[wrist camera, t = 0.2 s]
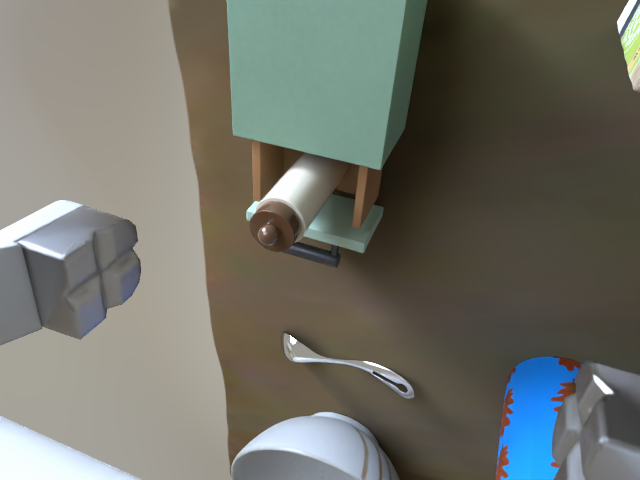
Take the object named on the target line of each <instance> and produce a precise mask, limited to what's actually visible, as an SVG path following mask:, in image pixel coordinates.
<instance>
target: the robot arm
mask: <svg viewBox="0 0 640 480" xmlns="http://www.w3.org/2000/svg"><path fill="white" fill-rule="evenodd" d="M137 242H138V238H137V231H136V226H135V225H134V224H133V223H132V222H130V221H129V220H127V219H124V218H120V217H118V216H115V215H112V214H109V213H105V212H103V211H100V210H97V209H93V208H90V207H86V206H83V205H81V204H77V203H74V202H71V201H61V200H59V201H56V202H54V203H52V204H50V205H49V206H47V207H45V208H43V209H41V210H39V211H37V212H35V213H33V214H31V215H29V216H27V217H25V218H23V219H22V220H20V221H18V222H16V223H14V224H12V225H10V226H8V227H6V228H4V229H2V230H0V345H3V344H5V343H8V342H10V341H13V340H15V339H18V338H20V337H23V336H25V335H28V334H30V333H33V332H35V331H38V330H40V329H42V326H43V327H46V328H48V329H51V330H54V331H57V332H60V333H63V334H65V335H69V336H71V337H74V338H77V339H82V338H83V337H84V336H85V335H86V334H87V333H89V332H90V331H91V330H92V329H93V328H95V327H96V326H97V325H98V324H99V323H101V322H102V321H103V320H104V319H105V318H106V313H107V309H108V308H111V307H115V306H118V305H121V304H123V303H124V302H125V301H126V300H127V299H128V298H129V297H131V296H132V294H133V292H134V290H135V289H136V287H137V285H138V283H139V280H140V274H141V266H140V259H139V258H138V256H137V255H136V253H135V252H134V250H133V247H134V245H135V244H136V243H137ZM575 382H576V393H575V394H572V395H570V396H568V397H565V399H564V401H563V403H562V405H561V407H560V409H559V412H558V414H557V418H556V422H555V425H554V429H553V437H552V457H553V458H554V460H555V461H556V463H557V464H558V466H559V467H560V468H559V470H558V472H557V473H556V475H555V477H554V479H553V480H640V375H638V374H635V373H632V372H628V371H625V370H622V369H618V368H615V367H612V366H608V365H605V364H601V363H598V362H595V361H591V360H588V359H587V360H586V361H585V362H584V364H583V365H582V366H581V368H580V369H579V371H578V373H577V375H576V377H575ZM0 480H141V479H139V478H137V477H135V476H133V475H130V474H128V473H126V472H124V471H121V470H119V469H117V468H115V467H113V466H110V465H108V464H106V463H104V462H102V461H99V460H97V459H95V458H93V457H90V456H88V455H86V454H84V453H82V452H79V451H77V450H74V449H73V448H70V447H68V446H66V445H64V444H61V443H59V442H57V441H55V440H53V439H51V438H48V437H46V436H44V435H41V434H39V433H37V432H35V431H33V430H30V429H28V428H26V427H24V426H22V425H20V424H17V423H15V422H13V421H11V420H8V419H6V418H4V417H2V416H0Z"/></svg>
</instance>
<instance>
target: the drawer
mask: <svg viewBox="0 0 640 480" xmlns="http://www.w3.org/2000/svg"><path fill="white" fill-rule="evenodd" d="M252 153H253V199H254V201H255V202H254V203H253V204H252V205H251V207H250V208H249V209H248V210H247V220H248V221H250V219H251V217H252V216H253V214H254V213H255V210H256V206H257V205H258V203H259V202H260V201H261V200H262V199H263V198H264V196H265V195H266V194H267V193H268V192H269V191H270V190H271V189H272V187H273V186H274V185H275V184H276V183H277V182H278V181H279V180H280V178H281V177H282V176H283V175H284V174H285V173H286V172H287V171H288V169H289V168H290V167H291V166H292V165H293V164H294V163H295V162H296V160H297V159H298V158H299V157H300V156H301V155H302V154H303V153H304V152H302V151H298V150H294V149H289V148H285V147H281V146H277V145H273V144H269V143H264V142H260V141H256V140H252ZM382 168H383V167H382ZM381 175H382V169H381V170H377V169H373V168H369V167H365V166H360V165H356V164H352V163H349V168H348V171H347V173H346V175H345V176H344V178H343V179H342V181H341V182H340V183H339V185H338V186H337V188H336V189H335V190H339V191H343V192H347V193H351V194H355V195H356V199H355V200H354V199H350V198H346V197H342V196H338V195H334V194H332V195H331V196H330V198H329V199H328V201H327V202H326V204H325V205H324V207H323V208H322V209H321V211H320V212H319V214H318V215H317V217H316V218H315V220H314V221H313V222H312V224H311V225H310V227H309V228H308V230H307V231H306V233H305V234H304V235H303V236H304V237H308V238H311V239H315V240H319V241H322V242H326V243H329V244H332V249H331V251H328V250H325V249H321V248H318V247H314V246H311V245H307V244H304V243H300V242H295V243H293V245H292V246H291V247H290V248H289V249H288V250H286V251H283V252H284V253H288V254H291V255H294V256H298V257H301V258H305V259H308V260H311V261H315V262H318V263H322V264H325V265H328V266H332V267H335V268H337V267H338V265H339V262H340V258H341V254H339V253H338V249H339V246H340V247H343V248H347V249H350V250H354V251H357V252H361V253H364V251H365V249H366V247H367V245H368V243H369V241H370V239H371V237H372V235H373V233H374V231H375V229H376V227H377V225H378V224H379V222H380V220H381V218H382V215H383V209H384V208H383V207H381V206H377V205H373V204H374V203H375V201H376V199H377V197H378V194H379V188H380V181H381Z"/></svg>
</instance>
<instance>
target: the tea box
mask: <svg viewBox="0 0 640 480" xmlns="http://www.w3.org/2000/svg"><path fill="white" fill-rule="evenodd" d="M617 24H618V31H619V34H620V37H621V43H622V47H623V49H624V56H625V60H626V62H627V66H628V73H629V77H630V80H631V82H632V86H633V89H634V90H635V91H636V92H640V0H629V1H628V3H627V5H626V7H625V9H624V10H623V12H622V14H621V16H620V18H619V20H618V22H617Z"/></svg>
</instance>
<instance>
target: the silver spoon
mask: <svg viewBox="0 0 640 480" xmlns="http://www.w3.org/2000/svg"><path fill="white" fill-rule="evenodd" d="M281 346H282V351H283V353H284V355H285V357H286V358H287V359H288V360H289V361H291V362H294V363H300V364H305V363H315V362H327V363H338V364H344V365H349V366H353V367H356V368H359V369H362V370H364V371H366V372H368V373H369V374H371V375H373V376H374V377H376V378H377V379H378V380H380V381H381V382H382V383H384V384H385V385H386V386H388V387H389V388H390V389H392V390H393V391H394V392H396V393H397V394H398V395H400V396H402V397H404V398H406V399H410V398H413V397H414V396H415V391H414V388H413V386H412V385H411V384H410V383H409V382H408V381H407V380H406V379H405V378H403V377H402V376H400V375H399V374H397V373H395V372H393V371H391V370H389V369H387V368H385V367H382V366H380V365H377V364H374V363H370V362H366V361H359V360H347V359H336V358H329V357H325V356H322V355H319V354H317V353H315V352H313V351H312V350H310V349H309V348H308V347H306V346H305V345H304V344H302V343H301V342H299V341H298V340H296V339H294V338H293V337H291V336H290V335H288V334H287V333H285V332H281ZM373 371H375V372H377V373H379V374H381V375H382V376H384V377H386V378H388V379H390V380H392V381H393V382H395V383H397V384H399V383H400V384H403V385H405V386H406V387H407V389H408V391H407V392H404V391H402V390H400V389H399V388H398V386H396V385H394V384H392V383H391V382H389V381H387V380H385V379H383V378H382V377H380V376H378V375H376V374H374V373H373Z"/></svg>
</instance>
